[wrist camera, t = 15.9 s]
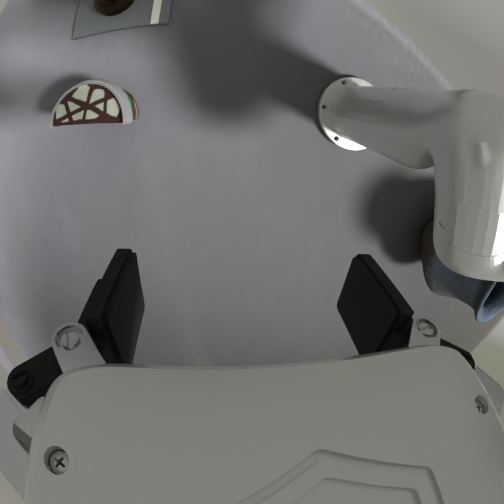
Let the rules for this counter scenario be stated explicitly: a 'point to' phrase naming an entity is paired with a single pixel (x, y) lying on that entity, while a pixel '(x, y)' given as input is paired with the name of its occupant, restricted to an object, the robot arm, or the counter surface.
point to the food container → (94, 104)
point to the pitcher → (459, 282)
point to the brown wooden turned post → (112, 6)
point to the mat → (120, 17)
